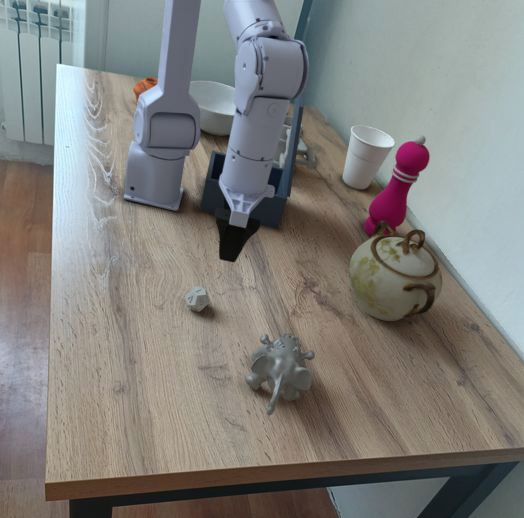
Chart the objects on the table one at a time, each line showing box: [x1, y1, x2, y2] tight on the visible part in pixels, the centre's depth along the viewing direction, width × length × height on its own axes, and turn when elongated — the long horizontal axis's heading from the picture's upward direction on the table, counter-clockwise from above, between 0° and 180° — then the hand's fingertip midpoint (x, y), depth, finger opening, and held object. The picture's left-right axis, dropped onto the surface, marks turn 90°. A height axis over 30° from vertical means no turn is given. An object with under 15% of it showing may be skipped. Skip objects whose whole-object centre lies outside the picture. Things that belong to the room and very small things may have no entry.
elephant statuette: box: [245, 332, 316, 416], centre depth 67 cm, size 9×12×8 cm
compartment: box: [199, 149, 288, 230], centre depth 100 cm, size 15×12×6 cm
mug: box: [272, 114, 304, 169], centre depth 112 cm, size 8×12×12 cm, turn 7°
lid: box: [286, 91, 316, 198], centre depth 93 cm, size 15×12×4 cm
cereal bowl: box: [189, 80, 236, 137], centre depth 120 cm, size 17×17×7 cm
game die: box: [184, 285, 211, 313], centre depth 77 cm, size 4×4×3 cm
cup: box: [341, 124, 396, 190], centre depth 117 cm, size 10×10×11 cm
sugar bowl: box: [348, 221, 443, 322], centre depth 85 cm, size 20×15×15 cm
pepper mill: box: [363, 134, 431, 237], centre depth 101 cm, size 7×7×20 cm
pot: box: [132, 76, 158, 103], centre depth 120 cm, size 8×8×7 cm
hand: (229, 243), depth 73 cm, fingers open, 7 cm apart
